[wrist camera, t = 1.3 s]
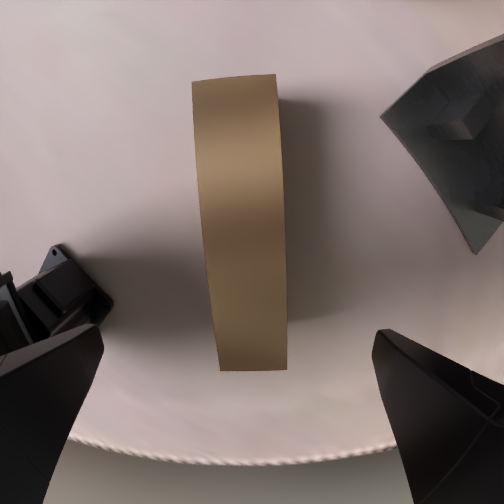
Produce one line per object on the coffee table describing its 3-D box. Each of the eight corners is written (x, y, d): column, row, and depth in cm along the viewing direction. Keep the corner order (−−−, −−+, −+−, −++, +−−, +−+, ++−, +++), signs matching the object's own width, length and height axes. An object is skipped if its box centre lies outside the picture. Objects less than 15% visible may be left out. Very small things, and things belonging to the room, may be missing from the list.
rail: (283, 322, 19) (287, 369, 14) (230, 324, 19) (220, 370, 15) (273, 99, 15) (275, 74, 10) (212, 103, 15) (191, 82, 11)
